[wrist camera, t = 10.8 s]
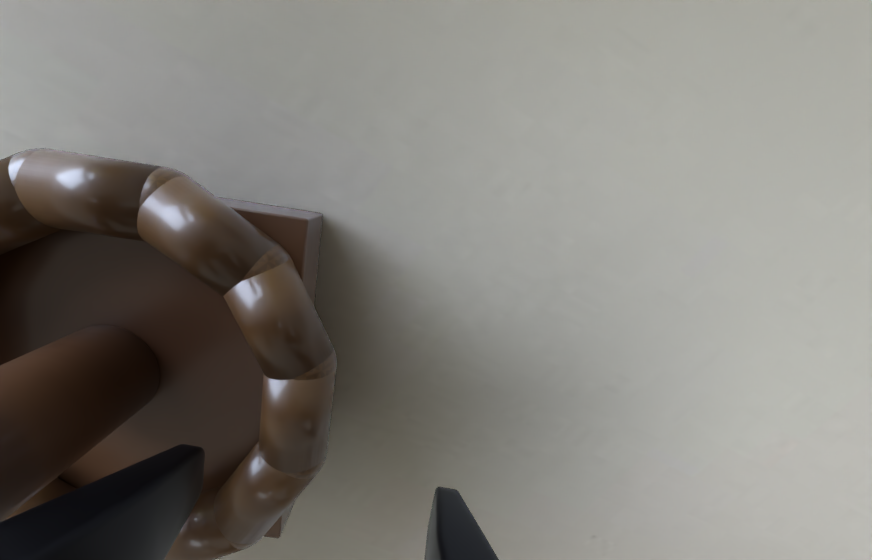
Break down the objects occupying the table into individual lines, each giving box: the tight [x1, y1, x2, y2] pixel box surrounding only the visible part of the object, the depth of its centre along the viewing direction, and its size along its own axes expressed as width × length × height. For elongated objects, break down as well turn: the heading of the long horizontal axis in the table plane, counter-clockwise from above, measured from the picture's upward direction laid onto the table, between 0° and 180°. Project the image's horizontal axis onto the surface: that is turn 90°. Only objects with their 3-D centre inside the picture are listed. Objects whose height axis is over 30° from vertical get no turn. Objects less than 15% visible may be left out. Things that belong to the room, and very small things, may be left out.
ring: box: [0, 148, 337, 560], centre depth 10 cm, size 10×10×2 cm
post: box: [0, 197, 323, 538], centre depth 8 cm, size 9×9×8 cm
